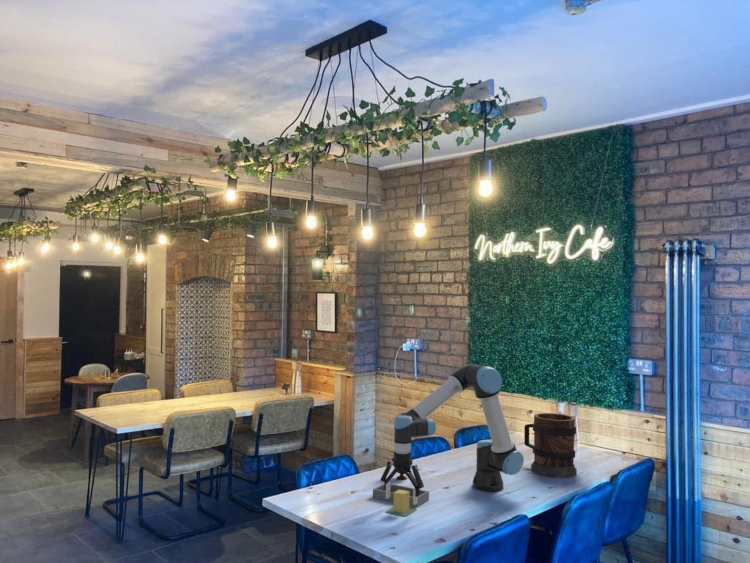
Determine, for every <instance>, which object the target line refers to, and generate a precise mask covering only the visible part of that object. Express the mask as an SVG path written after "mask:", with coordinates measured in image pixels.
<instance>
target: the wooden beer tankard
mask: <svg viewBox="0 0 750 563" xmlns="http://www.w3.org/2000/svg"><path fill="white" fill-rule="evenodd" d="M523 427H524V429H523V430H524V446H526V447H528V448H530V449H532V453H533V456H534V460H533V461H532V463H531V464H530V471H531V472H532V473H533V474H536V475H537V476H542V477H547V478H554V479H571V478H574V477H576V476H577V474H578V473H577V472H578V469H577V467H576V466H575V464H574V459H575V458H576V450H575V435H576V434H577V427H576V418H575V417H574V416H572V415H568V414H564V413H563V414H561V413H555V412H551V413H550V412H545V413H544V412H541V413H536V414H535V413H534V415H533V423H529V424H525V425H524V426H523ZM530 428H532V431H533V432H534V433H533V435H534V436H533V441H534V442H533V443H532V444H531V443H530ZM570 477H571V478H570Z"/></svg>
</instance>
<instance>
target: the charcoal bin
mask: <svg viewBox="0 0 750 563" xmlns="http://www.w3.org/2000/svg"><path fill="white" fill-rule="evenodd" d="M399 489H400V490H405V491H410V492H409V507H411V508H412V507H413V508H415V509H418V508H419V507H421V506H422V505H424V504H425V503H427V502H429V500H430V490H429V491H428V490H423V489H420V492H419V496H418V503H417V504H415V505H413V489H415V487H414V488H413V487H408V486H404V485H398V484H394V483H391V485H390V498H388V499H386V490H385V489H384V483H382V484H381V485H378V486H377V487H375V488H373V489H372V499H376V500H379V501H386V502H389V503H394V492H396V491H397V490H399Z"/></svg>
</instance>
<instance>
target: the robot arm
mask: <svg viewBox="0 0 750 563" xmlns="http://www.w3.org/2000/svg"><path fill="white" fill-rule="evenodd" d="M447 379H448V380H446V381H445V382H444V383H442V384H441V385H439V387H437V388H436V389H435V390H434V391H432V392H431V393H430V394H429V395H427V396H426V397H424V398H423V399H422V400H421V401H419V402H418V403H416V405H414V406H413V407H412V408H410V409H409V410H408V411H407V412H400V413H398V414H397V415H396V417H395V418H394V424H393V428H394V432H393V433H394V434H393V436H394V437H393V438H394V440H393V451H394V452H393V457H394V462H393V461H392V459H390V460H387V461H386V462H387V463H386V468H385V469H384V471H383V473H382V475H381V478H380V481H381V482H383V484H384V489H385V490H386V499H388V498H390V485H391V484H392V483H391V482H390V481H391V480H392V479H393V477H395V475H396V474H397V473H398V474H400V473H401V474H403V475H405V477H407V479H408V480H409V481H410V482H411V484H412V486H413V487H414V489H413V505H415V504H417V503H418V496H419V492H420V490H422V489H423V488H424V487H425V486H424V483H423V480H422V477H421V475H420V472H419V468H418V467H419V466H418V465H417V464H412V465H411V459H412V438H419V437H420V438H421V437H429V436H430V437H431V436H433V435H435V434H436V430H437V426H436V422H435V420H434V419H432V418H428V417H429V416H431V415H432V413H435V412H436V411H437V410H438V409H440V408H441V407H442V406H443V405H444V404H445V403H447V402H448V401H449V400H450V399H452V398H453V397H454V396H456V394H458V393H462V392H464V391H465V390H468V389H471V390H473V391H474V394H475V398H476V399H478V400H479V401H480V403H481V407H482V411H483V413H484V414H483V415H484V417H485V418H484V419H485V422H486V425H487V426H486V427H487V428H488V432H489V436H490V438H491V439H482V440H479V441H477V443H476V448H475V449H476V468H475V469H476V471H475V474H474V476H473V480H472V487H473V488H474V489H476V490H479V491H484V492H498V491H502V490H503V489H504V480H503V478H502V474H501V473H503V474H505V475H510V476H514V475H516V474H518V473H519V472H520V471H521V469H522V468H523V466H524V460H525V459H524V455H523V454H522V452H521V451H519V450H517V447H516V444H515V441H513V440H511V438H510V435H509V434H510V433H509V430H508V428H507V423H506V420H505V417H504V413H503V409H502V406H501V401H500V398H499V394H500V393H501V391H500V390H501V387H502V384H503V382H502V381H503V380H502V376H501V374H500V372H499V371H498V370H497V369H495V368H494V367H491V366H488V365H481V364H475V363H473V364H467V365H464V366H462V367H460V368H459V369H457V370H456V371H454V372H453V373H452V374H450V375H449V376H448V378H447ZM392 467H393V469H392ZM391 469H392V471H391ZM390 471H391V472H390ZM389 473H390V474H389Z"/></svg>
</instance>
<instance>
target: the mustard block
mask: <svg viewBox="0 0 750 563" xmlns="http://www.w3.org/2000/svg"><path fill="white" fill-rule="evenodd" d="M409 492H410V491H405V490H400V489H399V490H397V491H396V492H394V502H393V507H394V511H396V512H401V513H405V512H407V511H408V510H409V508H410V506H409Z"/></svg>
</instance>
